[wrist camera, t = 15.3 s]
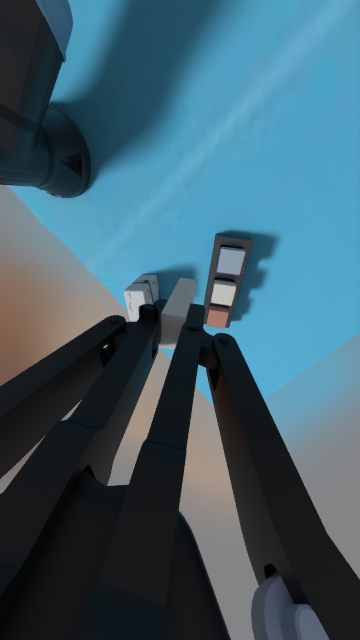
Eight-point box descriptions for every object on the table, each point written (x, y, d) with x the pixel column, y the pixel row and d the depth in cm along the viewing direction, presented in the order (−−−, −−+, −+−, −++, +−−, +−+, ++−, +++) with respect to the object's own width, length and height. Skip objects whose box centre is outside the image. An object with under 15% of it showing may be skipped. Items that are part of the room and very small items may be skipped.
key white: (230, 296, 48) (231, 305, 44) (211, 293, 49) (211, 302, 45) (234, 278, 46) (236, 286, 41) (215, 275, 46) (214, 283, 42)
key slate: (237, 267, 44) (239, 275, 40) (217, 265, 45) (216, 272, 40) (242, 246, 42) (245, 251, 37) (221, 244, 42) (221, 248, 38)
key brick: (224, 317, 54) (224, 328, 49) (207, 315, 54) (206, 325, 50) (227, 303, 51) (228, 312, 46) (210, 300, 52) (209, 309, 47)
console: (228, 321, 55) (229, 328, 52) (201, 317, 56) (200, 323, 53) (250, 238, 43) (252, 240, 40) (215, 234, 44) (215, 236, 41)
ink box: (161, 301, 56) (148, 323, 46) (145, 301, 57) (130, 322, 47) (157, 274, 51) (142, 291, 42) (140, 274, 52) (122, 290, 43)
